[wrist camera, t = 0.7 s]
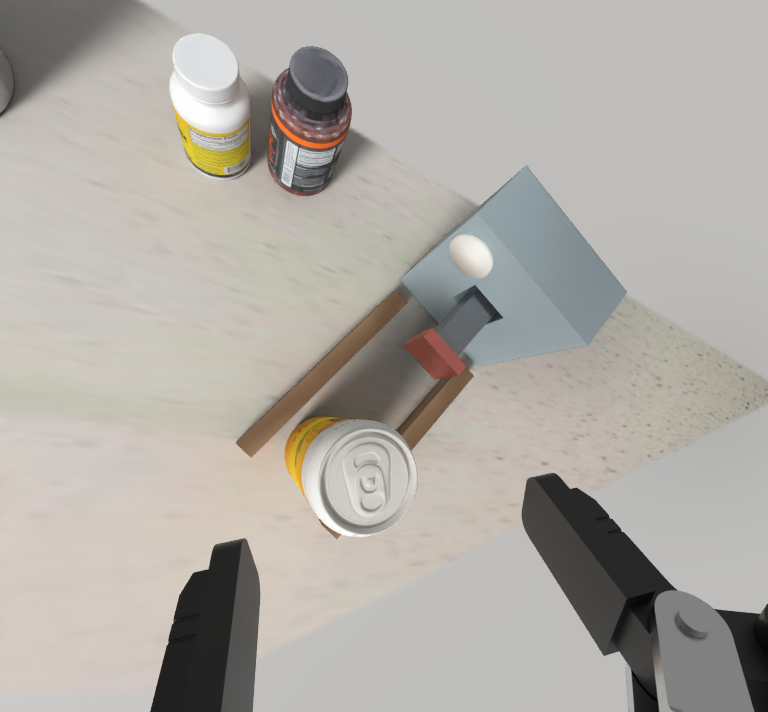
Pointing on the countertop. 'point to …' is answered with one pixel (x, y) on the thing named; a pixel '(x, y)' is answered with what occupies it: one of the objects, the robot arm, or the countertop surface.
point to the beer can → (352, 473)
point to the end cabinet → (519, 275)
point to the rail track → (332, 364)
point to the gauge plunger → (451, 336)
